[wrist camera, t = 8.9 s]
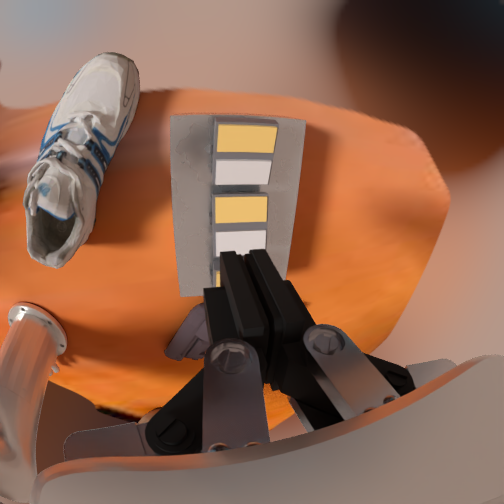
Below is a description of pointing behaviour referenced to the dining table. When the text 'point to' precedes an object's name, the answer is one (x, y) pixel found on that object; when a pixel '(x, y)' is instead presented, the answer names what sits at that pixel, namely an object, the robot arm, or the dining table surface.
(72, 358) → the dining table surface
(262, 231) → the switch
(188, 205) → the switch unit
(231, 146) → the switch
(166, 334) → the dining table surface
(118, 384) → the dining table surface
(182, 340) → the toy gun
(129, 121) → the athletic shoe
